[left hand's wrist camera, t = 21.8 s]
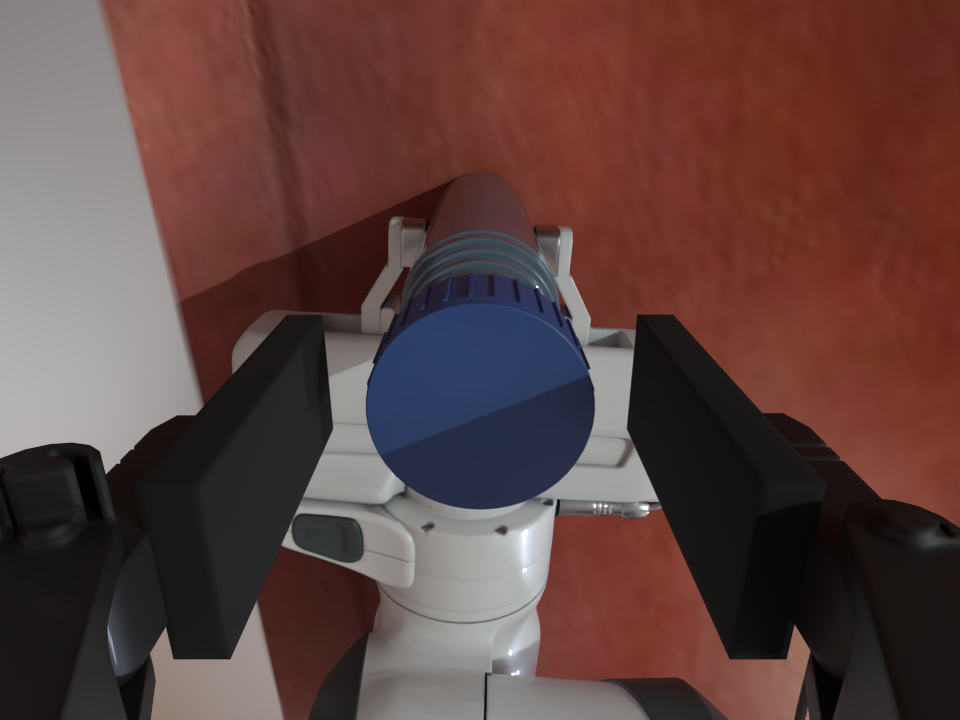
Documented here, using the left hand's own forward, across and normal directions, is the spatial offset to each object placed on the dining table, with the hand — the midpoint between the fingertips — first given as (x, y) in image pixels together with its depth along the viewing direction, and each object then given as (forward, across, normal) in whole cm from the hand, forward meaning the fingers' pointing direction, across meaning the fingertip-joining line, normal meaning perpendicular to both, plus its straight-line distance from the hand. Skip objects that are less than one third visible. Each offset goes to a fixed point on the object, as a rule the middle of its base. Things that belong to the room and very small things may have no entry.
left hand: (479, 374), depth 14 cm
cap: (-2, 0, 0) cm, 2 cm away
